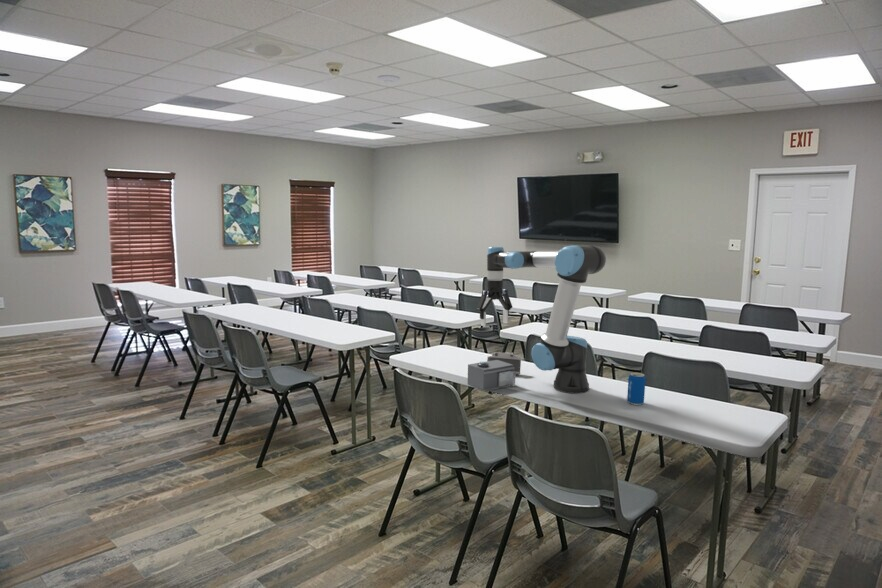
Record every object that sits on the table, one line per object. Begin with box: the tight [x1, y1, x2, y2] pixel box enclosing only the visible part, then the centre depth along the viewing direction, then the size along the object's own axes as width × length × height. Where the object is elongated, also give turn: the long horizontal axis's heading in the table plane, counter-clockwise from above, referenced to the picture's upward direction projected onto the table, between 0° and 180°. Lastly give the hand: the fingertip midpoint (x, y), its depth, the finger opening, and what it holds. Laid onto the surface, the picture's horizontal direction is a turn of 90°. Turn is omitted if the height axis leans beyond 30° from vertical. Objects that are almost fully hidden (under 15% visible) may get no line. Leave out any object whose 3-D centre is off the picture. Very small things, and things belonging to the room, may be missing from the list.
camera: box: [486, 351, 522, 376], centre depth 272 cm, size 9×16×10 cm, turn 85°
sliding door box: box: [467, 360, 515, 392], centre depth 250 cm, size 12×17×11 cm
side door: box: [498, 370, 517, 387], centre depth 246 cm, size 3×7×6 cm, turn 125°
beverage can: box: [626, 372, 647, 406], centre depth 228 cm, size 6×6×12 cm
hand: (494, 324), depth 266 cm, fingers open, 13 cm apart
